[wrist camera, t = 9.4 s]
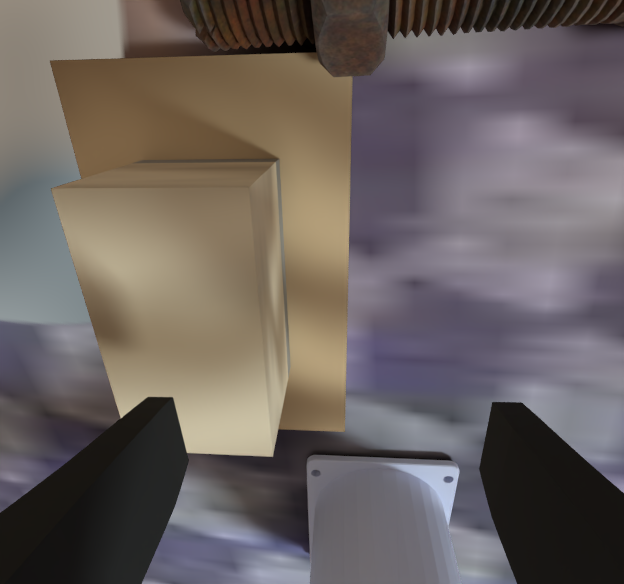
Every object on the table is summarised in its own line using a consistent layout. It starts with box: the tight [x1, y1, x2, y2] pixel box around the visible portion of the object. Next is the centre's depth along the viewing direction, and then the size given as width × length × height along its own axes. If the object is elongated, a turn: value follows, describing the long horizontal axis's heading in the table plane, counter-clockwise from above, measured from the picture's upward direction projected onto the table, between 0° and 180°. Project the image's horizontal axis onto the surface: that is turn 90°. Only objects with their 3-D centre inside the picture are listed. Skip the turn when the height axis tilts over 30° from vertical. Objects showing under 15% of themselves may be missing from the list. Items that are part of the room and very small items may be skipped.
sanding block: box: [51, 159, 291, 457], centre depth 14 cm, size 9×5×5 cm, turn 1°
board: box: [50, 52, 352, 432], centre depth 17 cm, size 16×10×1 cm, turn 1°
